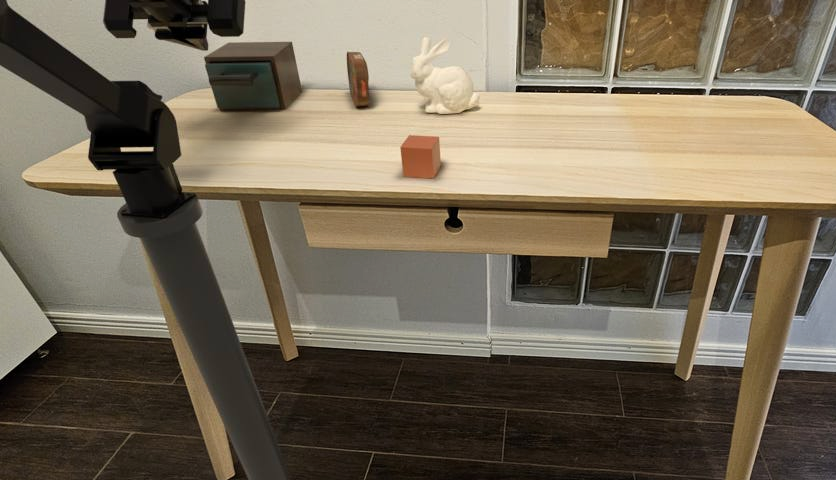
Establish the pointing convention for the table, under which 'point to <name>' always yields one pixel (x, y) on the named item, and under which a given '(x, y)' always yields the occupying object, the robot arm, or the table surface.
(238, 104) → the drawer
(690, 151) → the table surface
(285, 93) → the cabinet
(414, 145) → the block
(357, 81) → the tin
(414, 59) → the rabbit
